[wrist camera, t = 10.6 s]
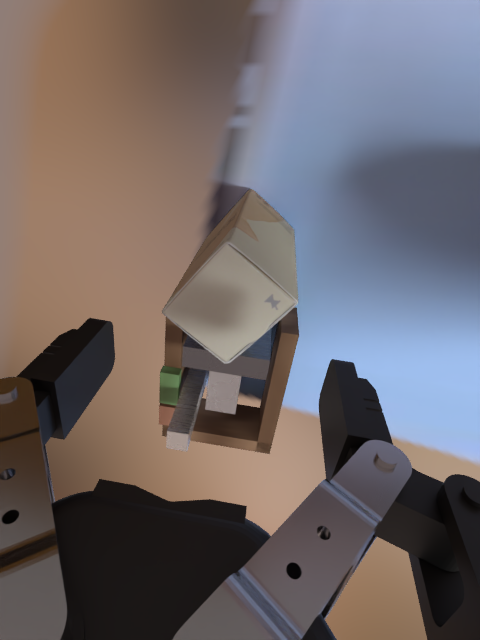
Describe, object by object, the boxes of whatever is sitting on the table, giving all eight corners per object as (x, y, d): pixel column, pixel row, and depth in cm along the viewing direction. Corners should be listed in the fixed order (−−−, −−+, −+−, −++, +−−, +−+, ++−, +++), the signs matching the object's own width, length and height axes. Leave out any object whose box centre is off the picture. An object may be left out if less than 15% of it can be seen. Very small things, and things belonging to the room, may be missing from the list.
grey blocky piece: (272, 315, 28) (268, 386, 21) (257, 387, 32) (250, 469, 24) (198, 303, 28) (169, 369, 21) (192, 376, 32) (166, 455, 25)
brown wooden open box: (296, 308, 28) (299, 341, 24) (270, 419, 34) (269, 461, 30) (178, 289, 28) (161, 319, 24) (173, 403, 34) (158, 443, 30)
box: (251, 185, 24) (232, 233, 15) (296, 230, 25) (306, 301, 16) (201, 241, 26) (157, 314, 17) (245, 280, 28) (226, 369, 18)
